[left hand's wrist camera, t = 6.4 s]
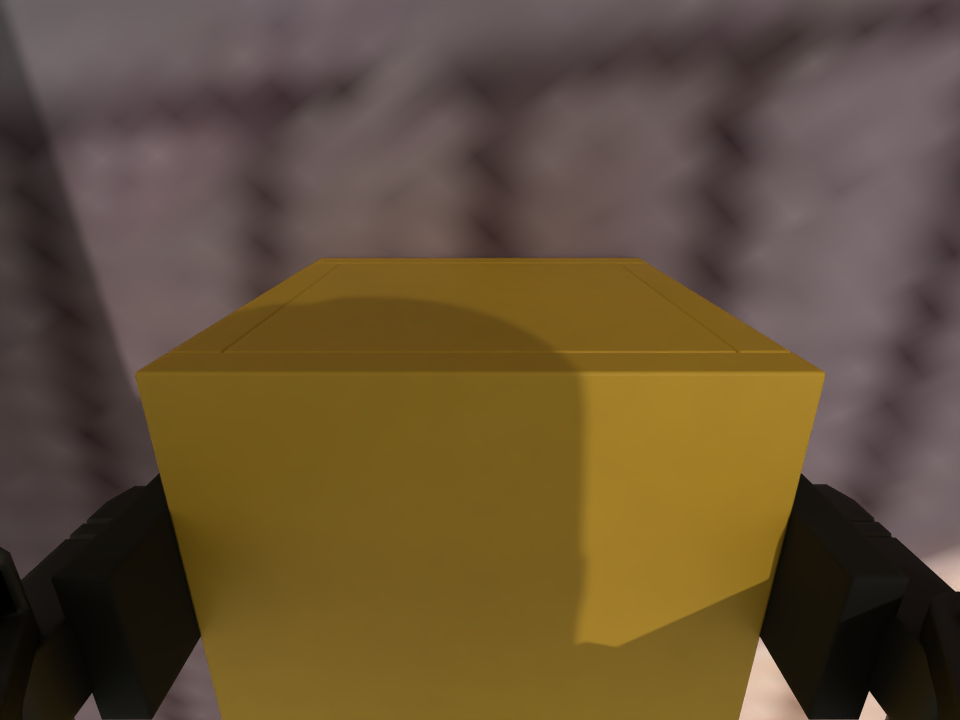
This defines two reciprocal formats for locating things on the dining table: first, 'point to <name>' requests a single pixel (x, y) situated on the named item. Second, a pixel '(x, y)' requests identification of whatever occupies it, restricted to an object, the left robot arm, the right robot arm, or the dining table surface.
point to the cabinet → (480, 491)
